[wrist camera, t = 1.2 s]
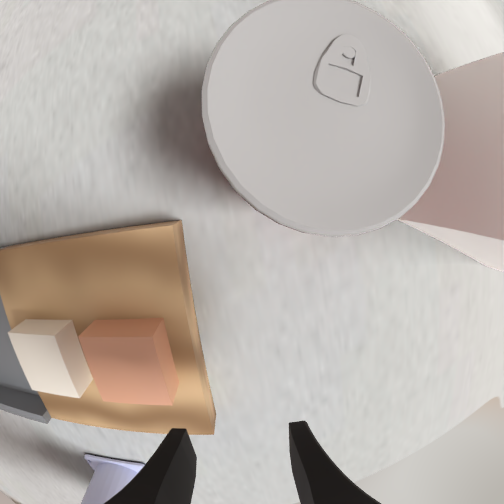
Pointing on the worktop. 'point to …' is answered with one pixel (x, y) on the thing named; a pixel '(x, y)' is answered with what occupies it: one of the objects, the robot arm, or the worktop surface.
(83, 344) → the tile
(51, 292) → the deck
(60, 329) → the tile
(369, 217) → the canned food
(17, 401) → the tray
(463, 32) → the worktop surface
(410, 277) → the worktop surface
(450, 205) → the milk
